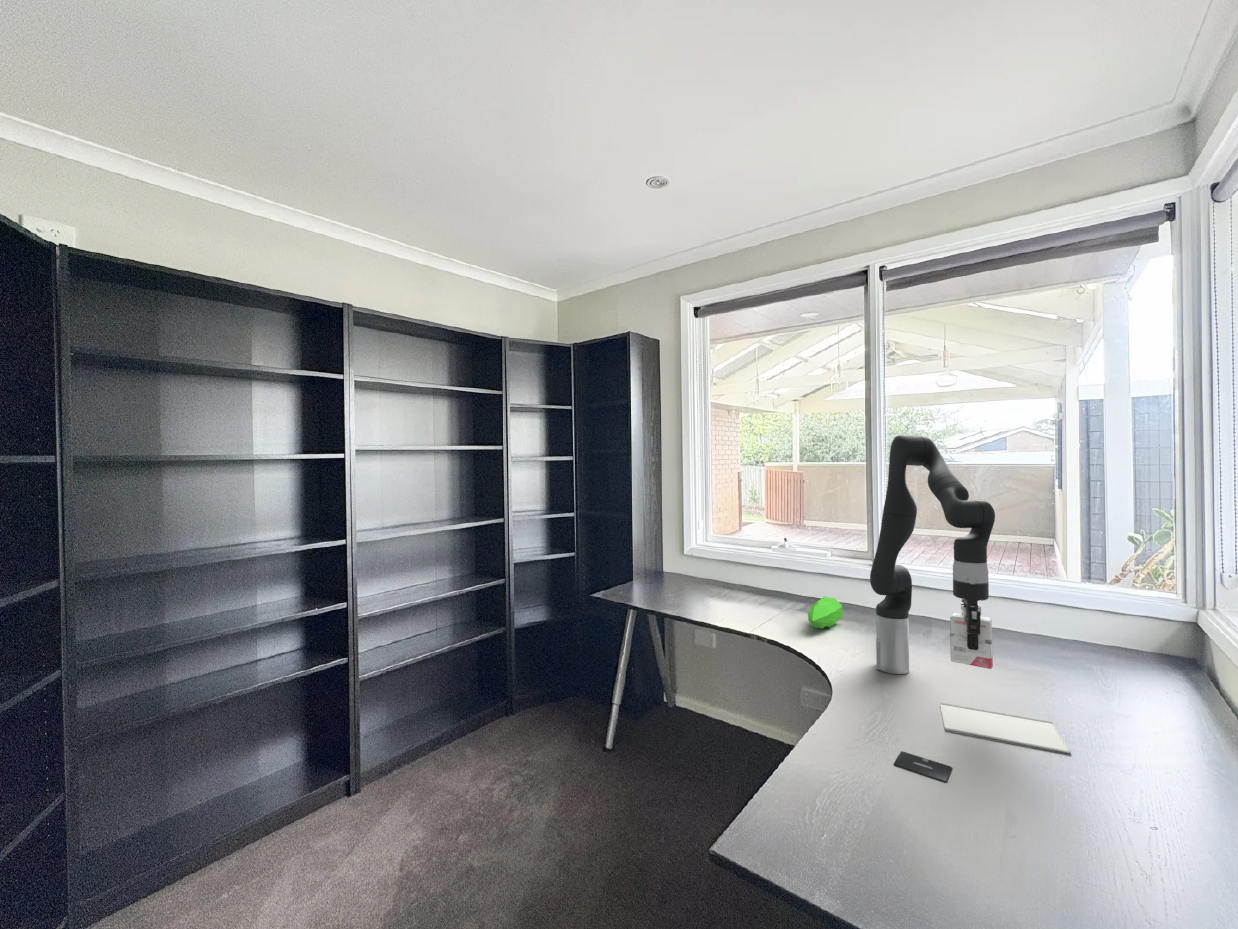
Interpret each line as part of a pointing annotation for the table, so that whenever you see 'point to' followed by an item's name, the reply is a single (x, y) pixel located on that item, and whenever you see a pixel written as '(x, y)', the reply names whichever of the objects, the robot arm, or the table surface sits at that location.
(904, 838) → the table surface
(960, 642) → the ink box
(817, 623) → the green faceted egg part
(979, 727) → the mat
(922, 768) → the solid state drive
